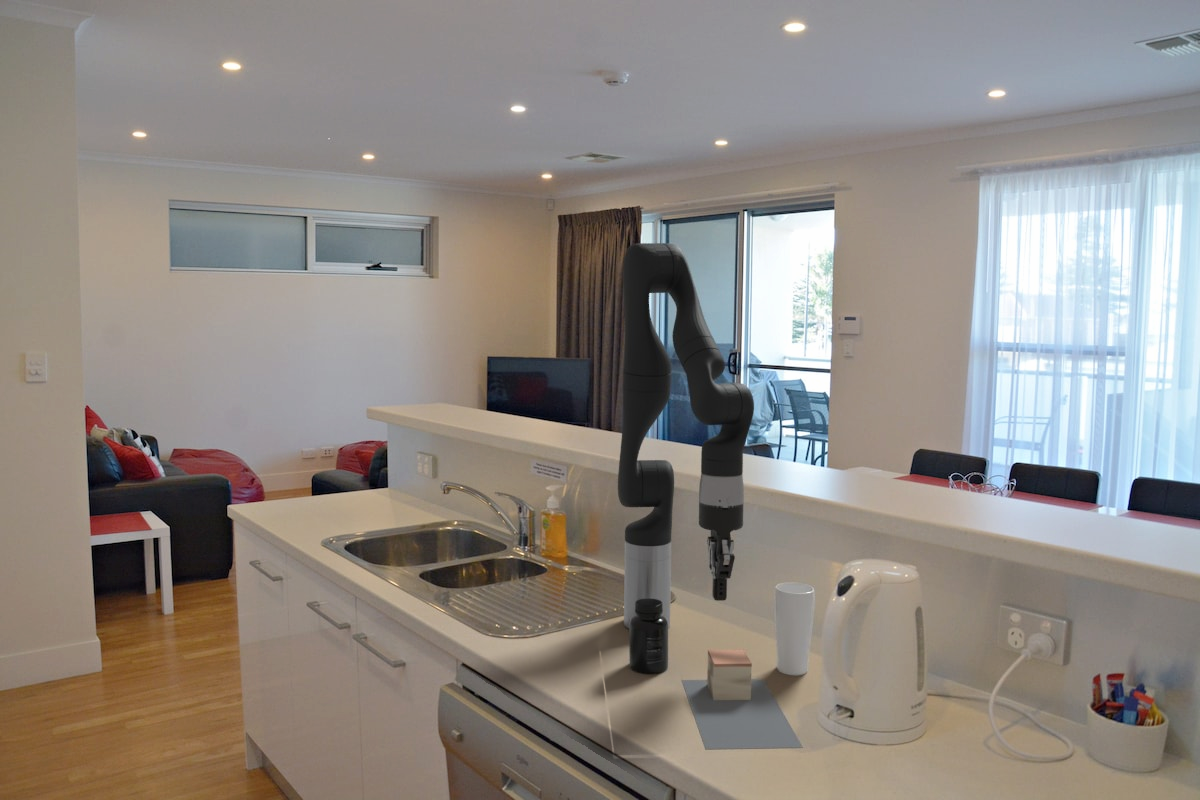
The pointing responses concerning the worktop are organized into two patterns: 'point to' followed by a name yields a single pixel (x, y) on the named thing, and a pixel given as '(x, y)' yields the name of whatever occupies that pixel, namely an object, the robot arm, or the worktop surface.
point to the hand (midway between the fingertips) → (719, 599)
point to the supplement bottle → (648, 638)
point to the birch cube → (729, 675)
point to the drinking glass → (793, 626)
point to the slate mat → (740, 719)
